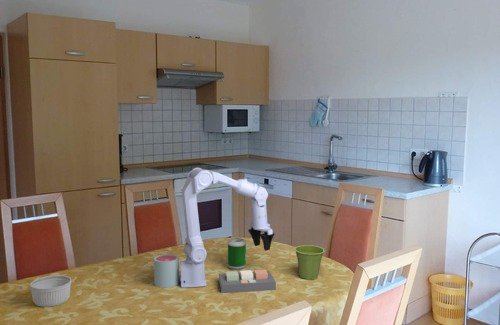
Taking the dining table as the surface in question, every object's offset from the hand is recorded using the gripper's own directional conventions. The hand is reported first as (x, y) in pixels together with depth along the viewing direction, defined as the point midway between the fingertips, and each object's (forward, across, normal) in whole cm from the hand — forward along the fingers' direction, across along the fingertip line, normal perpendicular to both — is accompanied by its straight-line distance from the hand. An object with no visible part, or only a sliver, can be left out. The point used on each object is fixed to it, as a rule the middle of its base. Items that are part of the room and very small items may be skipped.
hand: (262, 247), depth 186 cm
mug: (+8, +10, +37) cm, 39 cm away
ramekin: (+4, +13, +78) cm, 80 cm away
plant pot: (+12, -13, -13) cm, 22 cm away
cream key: (+8, -9, +13) cm, 18 cm away
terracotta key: (+8, -11, +8) cm, 16 cm away
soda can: (+10, +10, +7) cm, 16 cm away
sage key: (+7, -7, +18) cm, 21 cm away
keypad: (+9, -9, +13) cm, 18 cm away
